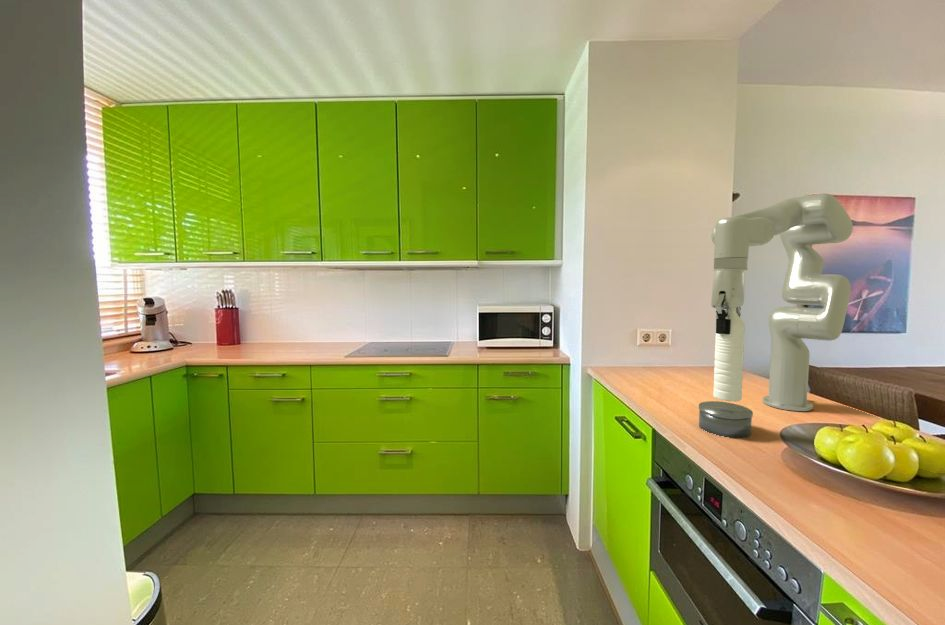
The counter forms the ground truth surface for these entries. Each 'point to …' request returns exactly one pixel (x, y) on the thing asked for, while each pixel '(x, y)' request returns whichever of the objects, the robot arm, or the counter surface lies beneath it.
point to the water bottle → (729, 361)
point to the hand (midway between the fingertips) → (727, 331)
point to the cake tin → (725, 419)
